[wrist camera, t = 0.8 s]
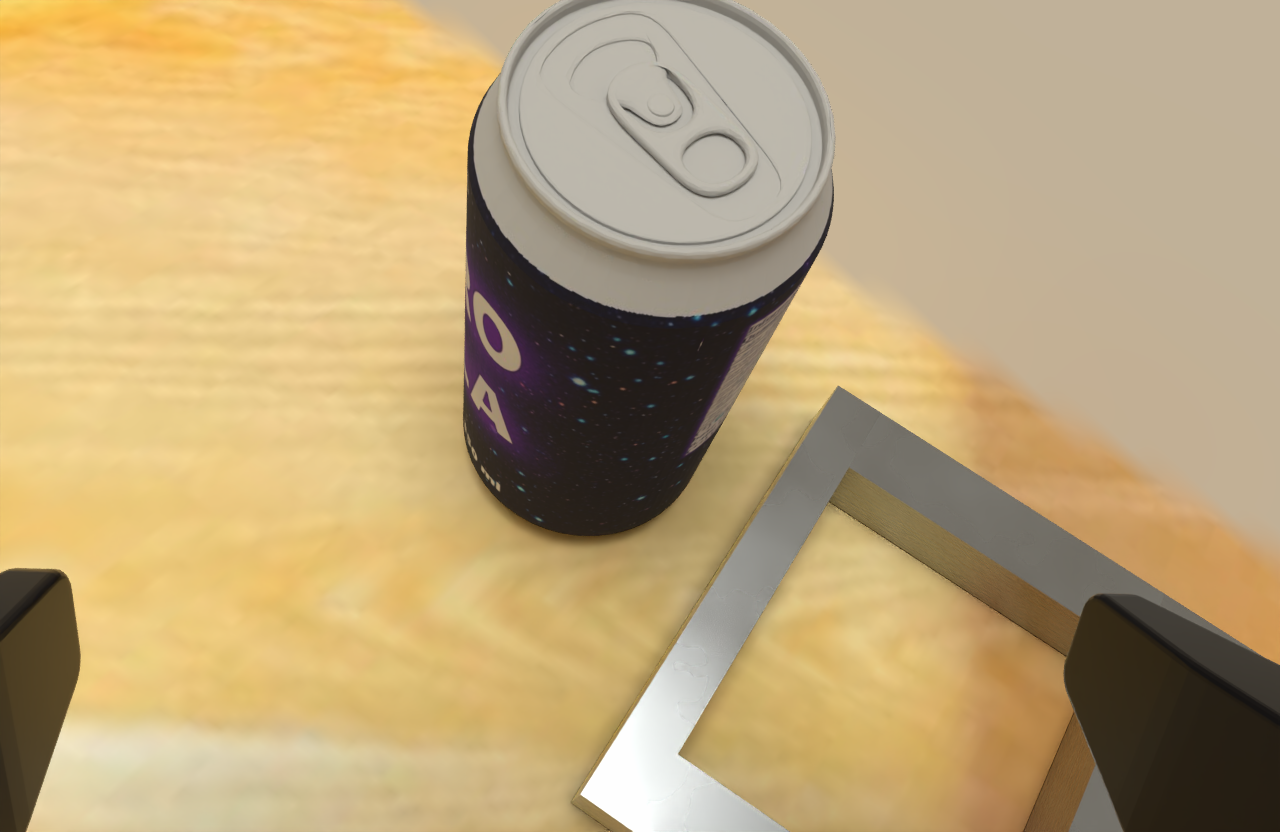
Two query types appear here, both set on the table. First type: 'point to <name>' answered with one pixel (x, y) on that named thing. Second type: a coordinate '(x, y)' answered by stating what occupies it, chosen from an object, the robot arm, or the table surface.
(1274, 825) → the robot arm
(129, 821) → the table surface
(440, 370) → the table surface
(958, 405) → the table surface
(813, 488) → the grey flat frame
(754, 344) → the beverage can
